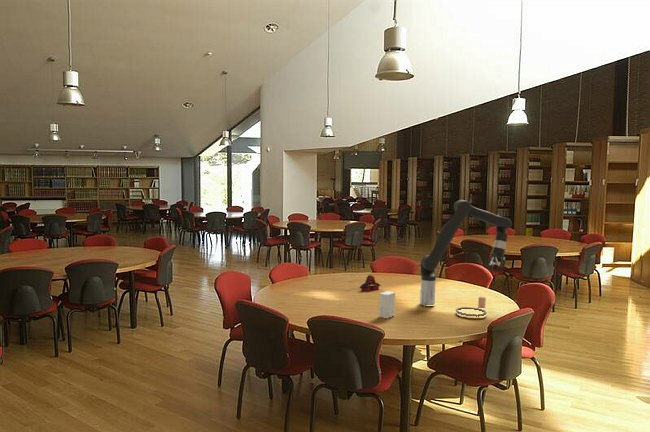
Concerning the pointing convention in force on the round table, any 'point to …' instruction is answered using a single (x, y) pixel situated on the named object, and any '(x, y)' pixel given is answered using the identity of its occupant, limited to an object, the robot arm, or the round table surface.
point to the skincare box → (387, 304)
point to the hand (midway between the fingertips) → (494, 271)
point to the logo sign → (369, 288)
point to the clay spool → (481, 302)
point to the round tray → (471, 314)
